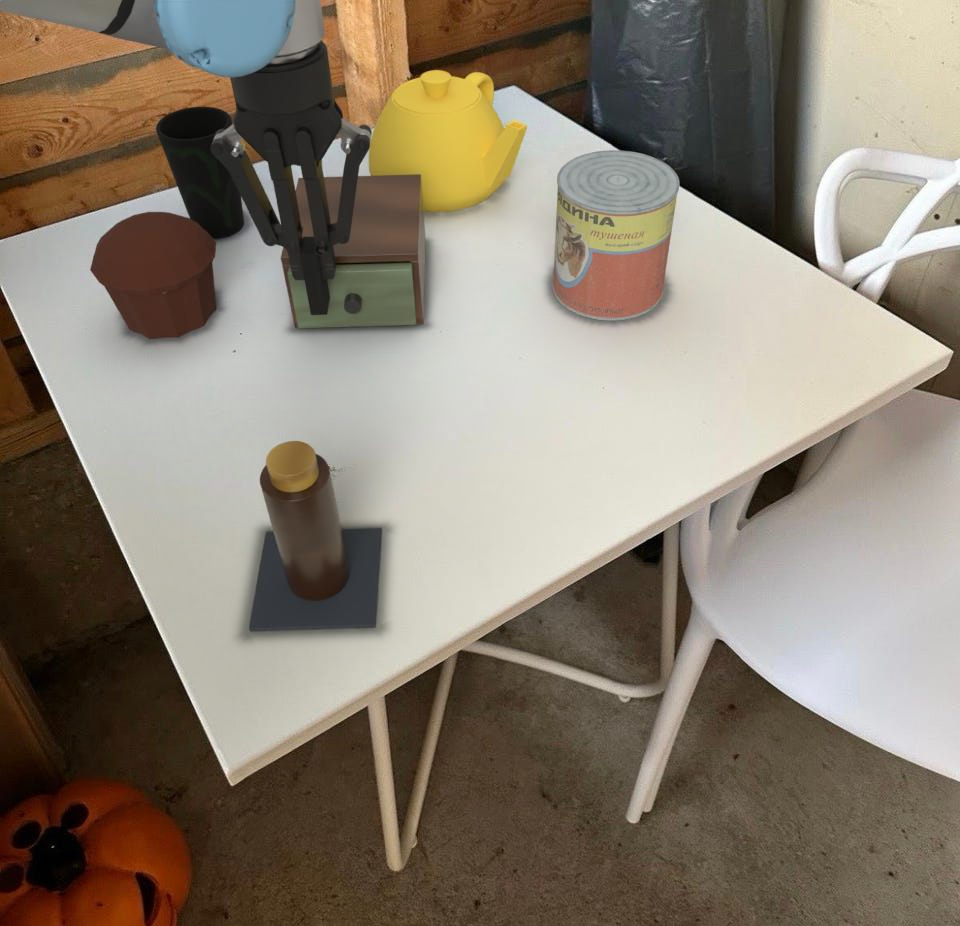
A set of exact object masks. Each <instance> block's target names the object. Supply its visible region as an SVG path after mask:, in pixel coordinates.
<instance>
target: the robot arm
mask: <svg viewBox="0 0 960 926" xmlns="http://www.w3.org/2000/svg"><path fill="white" fill-rule="evenodd" d="M0 12H3V13H8V14H12V15H17V16H21V17H26V18H30V19H35V20H40V21H44V22H48V23H52V24H57V25H62V26H67V27H72V28H76V29H80V30H85V31H90V32H94V33H97V34H101V35H106V36H109V37H111V38H114V39H118V40H124V41H128V42H133V43H138V44H142V45H145V46H151V47H156V48H160V49H163V50H166V51H170V52H171V53H172V54H173V55H174V56H175V57H176V58H177V59H179V60H180V61H182V62H183V63H184V64H186V65H187V66H190V67H193V68H196V69H199V70H202V71H204V72H205V73H208V74H211V75H213V76H218V77H220V78H221V77H222V78H229V79H230V83H231V89H232V94H233V98H234V103H235V113H234V116H233V119H232V125H231V126H230V127H229V128H227V129H226V130H225V129H220V130H218V131H217V132H216V135H215V137H214V140H213V142H212V145H211V148H210V149H211V152H212V154H213V155H214V156H215V157H216V158H217V159H218V160H219V161H220V162H221V163H222V164H223V165H224V166H225V167H226V168H227V169H228V171H229V173H230V175H231V177H232V179H233V181H234V183H235V185H236V187H237V189H238V191H239V193H240V195H241V200H242V202H243V203H244V205H245V208H246V209H247V212H248V213H249V215H250V218H251V219H252V222H253V224H254V225H255V228H256V230H257V232H258V233H259V236H260V238H261V240H262V242H263V243H264V244H265V245H266V246H268V247H274V246H280V247H282V248H283V247H284V248H285V249H286V250H287V252H288V256H289V262H290V267H291V272H292V276H293V278H294V279H295V280H305V285H306V291H307V296H308V302H309V307H310V313H311V315H327V313H328V307H329V301H330V294H329V288H328V282H327V279H334V276H335V271H336V260H335V253H334V245H335V244H338V243H340V244H345V243H347V242H348V241H349V238H350V231H351V225H352V217H353V210H354V203H355V195H356V188H357V181H358V176H359V173H360V165H361V164H362V162H363V161H364V159H365V158H366V155H367V154H368V153H369V149H370V143H371V138H372V135H373V131H372V129H371V127H370V126H369V125H367V124H361V125H359V126H358V125H356V124H354V123H352V122H350V121H348V120H347V119H345V118H344V115H343V114H344V113H343V111H342V108H341V107H340V106H339V104H338V103H337V102H336V99H335V96H334V89H333V81H332V74H331V66H330V60H329V52H328V46H327V44H326V43H325V42H324V41H323V39H324V37H325V34H326V30H325V21H324V16H323V15H324V14H323V7H322V0H0ZM337 136H339V137H340V141H341V142H340V149H341V150H342V152H343V153H345V159H344V165H343V170H342V171H343V172H342V177H343V179H342V187H341V195H340V203H339V211H338V219H337V222H335V223H333V224H331V220H330V214H329V207H328V201H327V194H326V188H325V182H324V177H325V176H324V169H323V158H324V157H325V155H326V154H327V152H328V150H329V149H330V147H331V146H332V143H333V142H334V140H335V139H336V137H337ZM246 143H247V144H248V145H249V146H250V147H251V148H252V149H253V150H254V151H255V152H256V154H258V155H259V156H260V157H261V158H262V160H264V161H265V162H266V163H267V166H268V170H269V177H270V180H271V181H272V184H273V190H274V195H275V200H276V205H277V211H278V215H279V217H278V216H277V214H276V212H275V210H274V207H273V205H272V202H271V201H270V198H269V196H268V194H267V191H265V188H264V186H263V183H262V182H261V179H260V177H259V176H258V173H257V171H256V169H255V167H254V164H253V162H252V160H251V158H250V157H249V154H248V152H247V151H246V145H247V144H246ZM292 166H297V167H300V172H301V176H302V177H301V178H303V179H304V181H305V187H306V193H307V199H308V205H309V211H310V216H311V222H312V228H313V234H314V237H303V239H302V233H303V227H302V226H301V220H300V214H299V208H298V203H297V197H296V186H295V180H294V174H293V168H292Z"/></svg>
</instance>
